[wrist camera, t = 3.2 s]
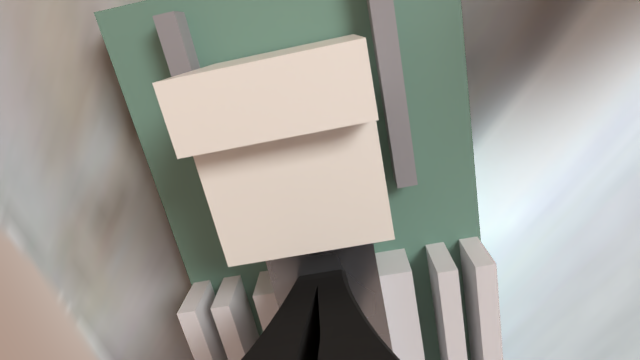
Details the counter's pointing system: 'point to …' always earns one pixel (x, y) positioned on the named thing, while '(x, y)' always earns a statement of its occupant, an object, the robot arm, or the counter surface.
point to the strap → (359, 274)
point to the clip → (284, 149)
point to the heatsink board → (396, 148)
